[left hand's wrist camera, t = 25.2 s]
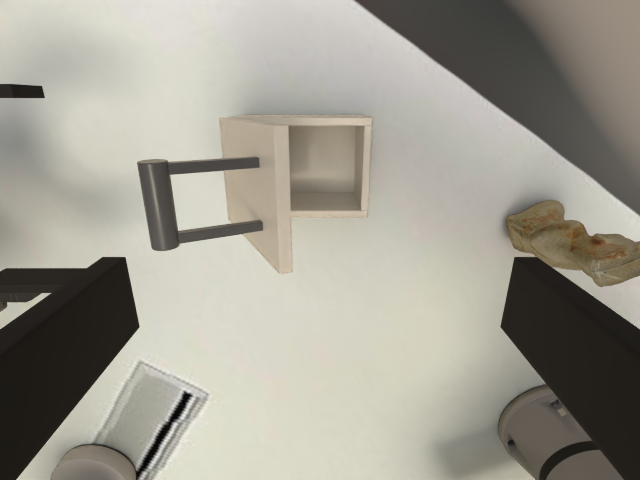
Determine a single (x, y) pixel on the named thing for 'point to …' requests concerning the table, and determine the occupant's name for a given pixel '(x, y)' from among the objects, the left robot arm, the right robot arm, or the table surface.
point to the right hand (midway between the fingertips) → (55, 194)
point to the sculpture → (573, 244)
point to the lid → (231, 191)
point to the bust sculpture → (93, 465)
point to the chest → (326, 163)
